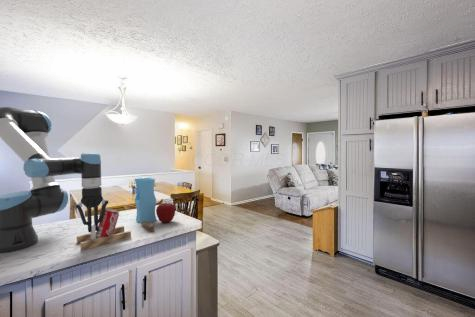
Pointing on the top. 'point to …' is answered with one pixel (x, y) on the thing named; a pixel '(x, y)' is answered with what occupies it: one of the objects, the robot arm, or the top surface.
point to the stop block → (148, 226)
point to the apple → (165, 212)
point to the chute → (103, 238)
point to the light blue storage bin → (145, 200)
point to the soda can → (107, 223)
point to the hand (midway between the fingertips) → (93, 238)
